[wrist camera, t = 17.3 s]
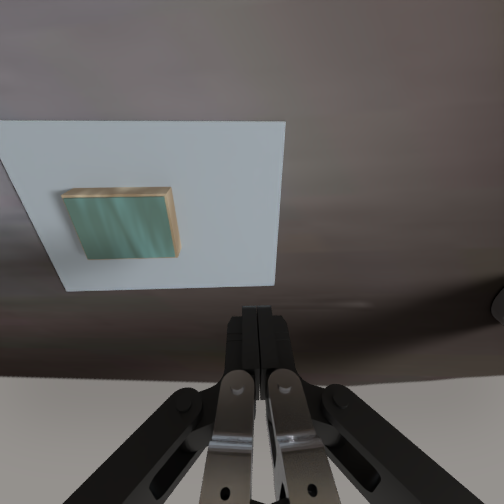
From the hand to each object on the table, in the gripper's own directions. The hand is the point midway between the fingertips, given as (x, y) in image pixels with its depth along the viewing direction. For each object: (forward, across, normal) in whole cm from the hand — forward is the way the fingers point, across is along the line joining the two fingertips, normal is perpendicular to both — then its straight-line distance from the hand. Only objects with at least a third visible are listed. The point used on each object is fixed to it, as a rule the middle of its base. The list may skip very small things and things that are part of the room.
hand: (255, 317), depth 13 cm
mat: (+12, +8, 0) cm, 15 cm away
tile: (+11, +7, -1) cm, 13 cm away
